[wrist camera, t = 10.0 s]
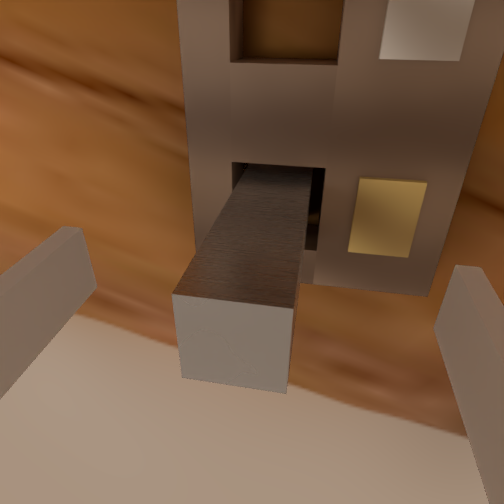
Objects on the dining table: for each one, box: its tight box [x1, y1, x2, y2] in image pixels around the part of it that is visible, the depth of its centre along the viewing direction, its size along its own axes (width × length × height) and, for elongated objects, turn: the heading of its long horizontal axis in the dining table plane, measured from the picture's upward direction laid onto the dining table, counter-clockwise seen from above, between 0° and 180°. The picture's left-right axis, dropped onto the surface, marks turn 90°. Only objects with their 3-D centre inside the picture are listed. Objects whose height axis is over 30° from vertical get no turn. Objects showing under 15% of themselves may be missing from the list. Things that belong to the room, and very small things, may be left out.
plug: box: [172, 163, 313, 394], centre depth 17 cm, size 3×3×13 cm
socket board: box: [177, 0, 504, 297], centre depth 18 cm, size 18×13×3 cm
